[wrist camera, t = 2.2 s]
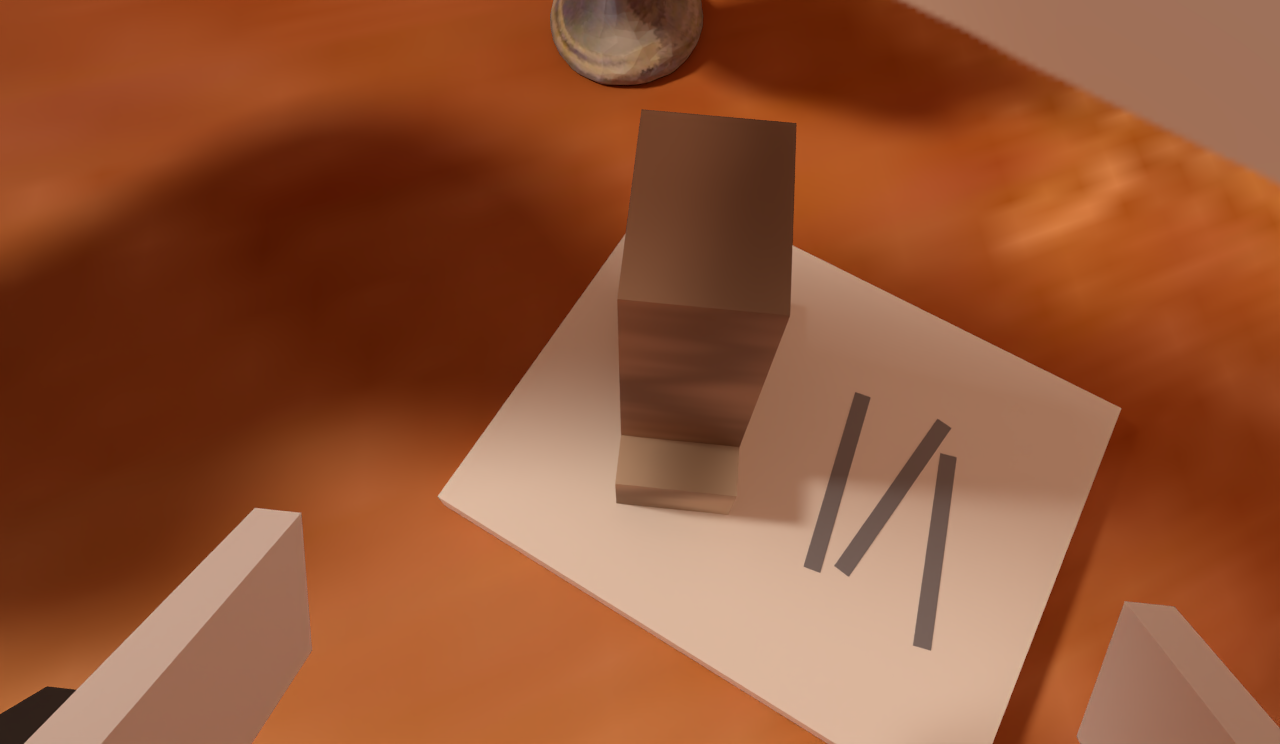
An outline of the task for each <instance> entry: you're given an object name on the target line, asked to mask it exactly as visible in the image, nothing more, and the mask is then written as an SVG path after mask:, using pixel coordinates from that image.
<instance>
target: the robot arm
mask: <svg viewBox="0 0 1280 744" xmlns="http://www.w3.org/2000/svg"><path fill="white" fill-rule="evenodd" d="M311 651H312V644H311V631H310V618H309V605H308V592H307V579H306V567H305V554H304V541H303V528H302V515H301V513H298V512H289V511H279V510H270V509H261V508H254V509H253V510H252V511H251V512H250V513H249V514H248V515H247V516H246V517H245V518H244V519H243V521H242V522H241V523H240V524H239V525H238V526H237V527H236V528H235V529H234V530H233V531H232V532H231V533H230V534H229V535H228V536H227V537H226V538H225V539H224V540H223V541H222V542H221V543H220V544H219V545H218V546H217V547H216V548H215V549H214V550H213V551H212V552H211V553H210V554H209V555H208V556H207V557H206V558H205V559H204V560H203V561H202V562H201V563H200V564H199V565H198V566H197V567H196V568H195V570H194V571H193V572H192V573H191V574H190V575H189V576H188V577H187V578H186V579H185V580H184V581H183V582H182V583H181V584H180V585H179V586H178V587H177V588H176V589H175V590H174V591H173V592H172V593H171V594H170V595H169V596H168V597H167V598H166V599H165V600H164V601H163V602H162V603H161V604H160V605H159V606H158V607H157V608H156V609H155V610H154V611H153V612H152V613H151V614H150V615H149V616H148V618H147V619H146V620H145V621H144V622H143V623H142V624H141V625H140V626H139V627H138V628H137V629H136V630H135V631H134V632H133V633H132V634H131V635H130V636H129V637H128V638H127V639H126V640H125V641H124V642H123V643H122V644H121V645H120V646H119V647H118V648H117V649H116V650H115V651H114V652H113V653H112V654H111V655H110V656H109V657H108V658H107V659H106V660H105V661H104V662H103V663H102V664H101V666H100V667H99V668H98V669H97V670H96V671H95V672H94V673H93V674H92V675H91V676H90V677H89V678H88V679H87V680H86V681H85V682H84V683H83V684H82V685H81V686H80V687H79V688H78V689H77V690H73V689H64V688H56V687H45V688H44V689H42V690H40V691H39V692H37V693H35V694H34V695H32V696H30V697H28V698H27V699H25V700H23V701H22V702H20V703H18V704H17V705H15V706H13V707H12V708H10V709H8V710H7V711H5V712H3V713H2V714H0V744H252V742H253V741H254V739H255V738H256V736H257V734H258V733H259V731H260V730H261V728H262V727H263V725H264V724H265V722H266V721H267V719H268V718H269V716H270V714H271V713H272V711H273V710H274V708H275V707H276V705H277V704H278V702H279V701H280V699H281V697H282V696H283V694H284V693H285V691H286V690H287V688H288V687H289V685H290V684H291V682H292V681H293V679H294V677H295V676H296V674H297V673H298V671H299V670H300V668H301V667H302V665H303V664H304V662H305V660H306V659H307V657H308V656H309V654H310V653H311ZM1077 738H1078V740H1079V742H1080V744H1280V728H1279V727H1278V726H1277V725H1276V723H1275V722H1274V721H1273V720H1272V719H1271V718H1270V717H1269V715H1268V714H1267V713H1266V712H1265V711H1264V710H1263V708H1262V707H1261V706H1260V705H1259V704H1258V703H1257V701H1256V700H1255V699H1254V698H1253V697H1252V696H1251V695H1250V693H1249V692H1248V691H1247V690H1246V689H1245V688H1244V686H1243V685H1242V684H1241V683H1240V682H1239V681H1238V679H1237V678H1236V677H1235V676H1234V675H1233V674H1232V673H1231V671H1230V670H1229V669H1228V668H1227V667H1226V666H1225V664H1224V663H1223V662H1222V661H1221V660H1220V659H1219V658H1218V656H1217V655H1216V654H1215V653H1214V652H1213V651H1212V649H1211V648H1210V647H1209V646H1208V645H1207V644H1206V642H1205V641H1204V640H1203V639H1202V638H1201V637H1200V636H1199V634H1198V633H1197V632H1196V631H1195V630H1194V629H1193V627H1192V626H1191V625H1190V624H1189V623H1188V622H1187V620H1186V619H1185V618H1184V617H1183V616H1182V615H1181V614H1180V612H1179V611H1178V610H1177V609H1176V608H1175V607H1174V606H1164V605H1155V604H1146V603H1136V602H1127V601H1125V602H1124V605H1123V608H1122V610H1121V613H1120V616H1119V619H1118V622H1117V625H1116V627H1115V630H1114V633H1113V636H1112V639H1111V641H1110V644H1109V647H1108V650H1107V653H1106V655H1105V658H1104V661H1103V664H1102V667H1101V669H1100V672H1099V675H1098V678H1097V681H1096V683H1095V686H1094V689H1093V692H1092V695H1091V697H1090V700H1089V703H1088V706H1087V709H1086V711H1085V714H1084V717H1083V720H1082V723H1081V725H1080V728H1079V731H1078V734H1077Z"/></svg>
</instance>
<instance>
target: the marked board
mask: <svg viewBox="0 0 1280 744" xmlns="http://www.w3.org/2000/svg"><path fill="white" fill-rule="evenodd" d="M625 235H626V234H625ZM625 235H624V237H623V238H622V239H621V241H620V242H619V244H618V245H617V246H616V248H615V249H614V251H613V252H612V253H611V255H610V256H609V258H608V259H607V260H606V262H605V263H604V265H603V266H602V267H601V269H600V270H599V272H598V273H597V274H596V276H595V277H594V278H593V280H592V281H591V283H590V284H589V285H588V287H587V288H586V290H585V291H584V292H583V294H582V295H581V297H580V298H579V299H578V301H577V302H576V304H575V305H574V306H573V308H572V309H571V311H570V312H569V313H568V315H567V316H566V318H565V319H564V320H563V322H562V323H561V325H560V326H559V327H558V329H557V330H556V332H555V333H554V334H553V336H552V337H551V339H550V340H549V341H548V343H547V344H546V346H545V347H544V348H543V350H542V351H541V353H540V354H539V355H538V357H537V358H536V360H535V361H534V362H533V364H532V365H531V367H530V368H529V369H528V371H527V372H526V374H525V375H524V376H523V378H522V379H521V381H520V382H519V383H518V385H517V386H516V388H515V389H514V390H513V392H512V393H511V395H510V396H509V397H508V399H507V400H506V402H505V403H504V404H503V406H502V407H501V409H500V410H499V411H498V413H497V414H496V416H495V417H494V418H493V420H492V421H491V423H490V424H489V425H488V427H487V428H486V430H485V431H484V432H483V434H482V435H481V437H480V438H479V439H478V441H477V442H476V444H475V445H474V446H473V448H472V449H471V451H470V452H469V453H468V455H467V456H466V458H465V459H464V460H463V462H462V463H461V465H460V466H459V467H458V469H457V470H456V472H455V473H454V474H453V476H452V477H451V479H450V480H449V481H448V483H447V484H446V485H445V487H444V488H443V490H442V491H441V492H440V494H439V495H438V498H439V499H440V500H441V501H442V503H443V504H444V505H445V506H447V507H448V508H450V509H451V510H453V511H455V512H456V513H458V514H460V515H461V516H463V517H464V518H466V519H468V520H469V521H471V522H472V523H474V524H476V525H477V526H479V527H480V528H482V529H484V530H485V531H487V532H488V533H490V534H492V535H493V536H495V537H496V538H498V539H500V540H501V541H503V542H505V543H506V544H508V545H509V546H511V547H513V548H514V549H516V550H517V551H519V552H521V553H522V554H524V555H525V556H527V557H529V558H530V559H532V560H533V561H535V562H537V563H538V564H540V565H541V566H543V567H545V568H546V569H548V570H550V571H551V572H553V573H554V574H556V575H558V576H559V577H561V578H562V579H564V580H566V581H567V582H569V583H570V584H572V585H574V586H575V587H577V588H578V589H580V590H582V591H583V592H585V593H587V594H588V595H590V596H591V597H593V598H595V599H596V600H598V601H599V602H601V603H603V604H604V605H606V606H607V607H609V608H611V609H612V610H614V611H615V612H617V613H619V614H620V615H622V616H623V617H625V618H627V619H628V620H630V621H632V622H633V623H635V624H636V625H638V626H640V627H641V628H643V629H644V630H646V631H648V632H649V633H651V634H652V635H654V636H656V637H657V638H659V639H660V640H662V641H664V642H665V643H667V644H669V645H670V646H672V647H673V648H675V649H677V650H678V651H680V652H681V653H683V654H685V655H686V656H688V657H689V658H691V659H693V660H694V661H696V662H697V663H699V664H701V665H702V666H704V667H705V668H707V669H709V670H710V671H712V672H714V673H715V674H717V675H718V676H720V677H722V678H723V679H725V680H726V681H728V682H730V683H731V684H733V685H734V686H736V687H738V688H739V689H741V690H742V691H744V692H746V693H747V694H749V695H750V696H752V697H754V698H755V699H757V700H759V701H760V702H762V703H763V704H765V705H767V706H768V707H770V708H771V709H773V710H775V711H776V712H778V713H779V714H781V715H783V716H784V717H786V718H787V719H789V720H791V721H792V722H794V723H796V724H797V725H799V726H800V727H802V728H804V729H805V730H807V731H808V732H810V733H812V734H813V735H815V736H816V737H818V738H820V739H821V740H823V741H824V742H826V743H828V744H993V741H994V738H995V736H996V733H997V731H998V728H999V725H1000V723H1001V720H1002V718H1003V715H1004V712H1005V710H1006V707H1007V705H1008V702H1009V699H1010V697H1011V694H1012V692H1013V689H1014V686H1015V684H1016V681H1017V679H1018V676H1019V673H1020V671H1021V668H1022V666H1023V663H1024V660H1025V658H1026V655H1027V653H1028V650H1029V647H1030V645H1031V642H1032V640H1033V637H1034V634H1035V632H1036V629H1037V627H1038V624H1039V621H1040V619H1041V616H1042V614H1043V611H1044V608H1045V606H1046V603H1047V601H1048V598H1049V595H1050V593H1051V590H1052V588H1053V585H1054V582H1055V580H1056V577H1057V575H1058V572H1059V569H1060V567H1061V564H1062V562H1063V559H1064V556H1065V554H1066V551H1067V549H1068V546H1069V543H1070V541H1071V538H1072V536H1073V533H1074V530H1075V528H1076V525H1077V523H1078V520H1079V517H1080V515H1081V512H1082V510H1083V507H1084V504H1085V502H1086V499H1087V497H1088V494H1089V491H1090V489H1091V486H1092V484H1093V481H1094V478H1095V476H1096V473H1097V471H1098V468H1099V465H1100V463H1101V460H1102V458H1103V455H1104V452H1105V450H1106V447H1107V445H1108V442H1109V439H1110V437H1111V434H1112V432H1113V429H1114V426H1115V424H1116V421H1117V419H1118V416H1119V413H1120V411H1121V408H1120V407H1118V406H1116V405H1114V404H1112V403H1110V402H1108V401H1106V400H1104V399H1102V398H1100V397H1098V396H1096V395H1094V394H1092V393H1090V392H1088V391H1086V390H1084V389H1082V388H1080V387H1077V386H1075V385H1073V384H1071V383H1069V382H1067V381H1065V380H1063V379H1061V378H1059V377H1057V376H1055V375H1053V374H1051V373H1049V372H1047V371H1045V370H1043V369H1041V368H1039V367H1037V366H1035V365H1033V364H1031V363H1029V362H1027V361H1025V360H1023V359H1021V358H1019V357H1017V356H1015V355H1013V354H1011V353H1009V352H1007V351H1005V350H1003V349H1001V348H999V347H997V346H995V345H993V344H991V343H989V342H987V341H985V340H983V339H981V338H979V337H977V336H975V335H973V334H970V333H968V332H966V331H964V330H962V329H960V328H958V327H956V326H954V325H952V324H950V323H948V322H946V321H944V320H942V319H940V318H938V317H936V316H934V315H932V314H930V313H928V312H926V311H924V310H922V309H920V308H918V307H916V306H914V305H912V304H910V303H908V302H906V301H904V300H902V299H900V298H898V297H896V296H894V295H892V294H890V293H888V292H886V291H884V290H882V289H880V288H878V287H876V286H874V285H872V284H870V283H868V282H866V281H863V280H861V279H859V278H857V277H855V276H853V275H851V274H849V273H847V272H845V271H843V270H841V269H839V268H837V267H835V266H833V265H831V264H829V263H827V262H825V261H823V260H821V259H819V258H817V257H815V256H813V255H811V254H809V253H807V252H805V251H803V250H801V249H799V248H797V247H795V246H793V245H792V276H791V307H790V318H789V320H788V323H787V325H786V328H785V330H784V333H783V336H782V338H781V341H780V343H779V346H778V349H777V351H776V354H775V356H774V359H773V362H772V364H771V367H770V369H769V372H768V375H767V377H766V380H765V382H764V385H763V388H762V390H761V393H760V395H759V398H758V400H757V403H756V406H755V408H754V411H753V413H752V416H751V419H750V421H749V424H748V426H747V429H746V432H745V434H744V437H743V439H742V442H741V445H740V447H739V465H738V483H737V497H736V499H735V501H734V503H733V506H732V508H731V510H730V512H729V514H728V515H725V514H716V513H706V512H696V511H686V510H677V509H667V508H657V507H648V506H638V505H628V504H619V503H616V488H615V482H616V473H617V465H618V456H619V448H620V439H621V418H620V382H619V345H618V309H617V297H618V289H619V281H620V274H621V266H622V258H623V250H624V242H625Z"/></svg>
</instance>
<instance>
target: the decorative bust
mask: <svg viewBox="0 0 1280 744" xmlns="http://www.w3.org/2000/svg"><path fill="white" fill-rule="evenodd" d="M550 21H551V32H552V36H553V40H554V43H555V45H556V47H557V49H558V51H559V53H560V55H561V56H562V57H563V58H564V59H565V61H566V62H567V63H568V64H569V65H570V67H571V68H572V69H573V70H574V71H576V72H577V73H579V74H580V75H582V76H584V77H586V78H589V79H591V80H593V81H595V82H597V83H600V84H608V85H636V84H643V83H647V82H651V81H653V80H655V79H658V78H660V77H663V76H666V75H668V74H670V73H672V72H674V71H675V70H676V69H677V68H678V67H679V66H680V65H681V64H682V63H683V62H684V61H685V60H686V59H687V58H688V57H689V55H690V54H691V52H692V51H693V49H694V48H695V46H696V45H697V42H698V40H699V37H700V34H701V31H702V27H703V11H702V2H701V0H554V1H553V5H552V9H551V14H550Z"/></svg>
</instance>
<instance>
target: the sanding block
mask: <svg viewBox="0 0 1280 744" xmlns="http://www.w3.org/2000/svg"><path fill="white" fill-rule="evenodd" d="M795 152H796V123H789V122H778V121H766V120H755V119H744V118H733V117H721V116H710V115H699V114H687V113H676V112H665V111H654V110H641V118H640V126H639V134H638V141H637V149H636V157H635V165H634V172H633V180H632V188H631V196H630V204H629V211H628V219H627V227H626V235H625V242H624V250H623V258H622V266H621V274H620V281H619V289H618V297H617V309H618V345H619V382H620V418H621V439H620V448H619V456H618V465H617V473H616V482H615V488H616V503H619V504H628V505H638V506H648V507H657V508H667V509H677V510H686V511H696V512H706V513H716V514H725V515H728V514H729V512H730V510H731V508H732V506H733V503H734V501H735V499H736V497H737V483H738V465H739V447H740V445H741V442H742V439H743V437H744V434H745V432H746V429H747V426H748V424H749V421H750V419H751V416H752V413H753V411H754V408H755V406H756V403H757V400H758V398H759V395H760V393H761V390H762V388H763V385H764V382H765V380H766V377H767V375H768V372H769V369H770V367H771V364H772V362H773V359H774V356H775V354H776V351H777V349H778V346H779V343H780V341H781V338H782V336H783V333H784V330H785V328H786V325H787V323H788V320H789V318H790V307H791V276H792V245H793V214H794V183H795Z"/></svg>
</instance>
